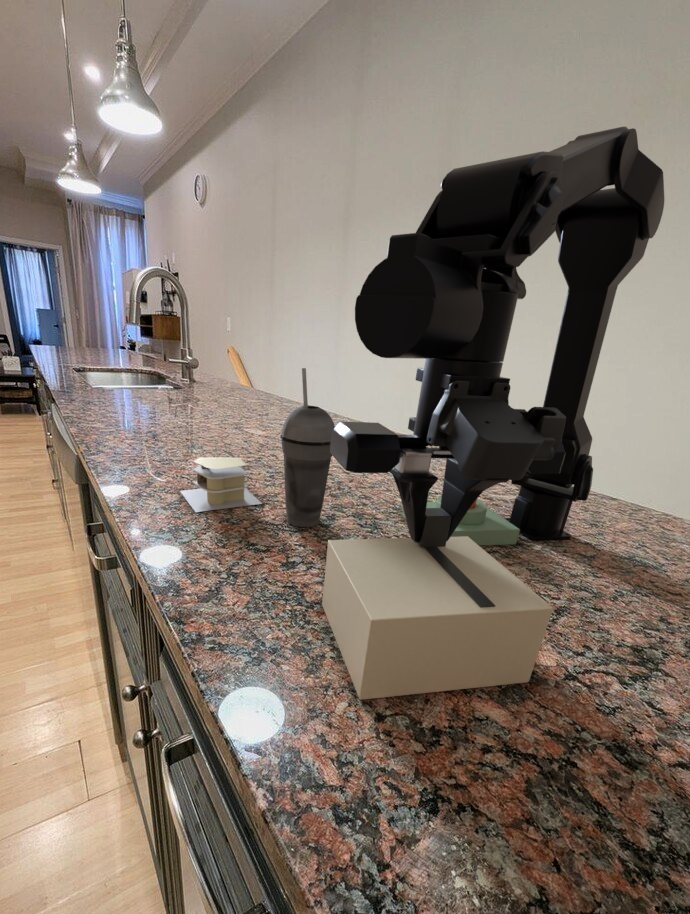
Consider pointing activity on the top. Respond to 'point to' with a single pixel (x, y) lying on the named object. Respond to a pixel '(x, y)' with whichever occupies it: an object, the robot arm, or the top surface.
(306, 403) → the beverage cup
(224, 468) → the stacked layers on plate
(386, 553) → the beige slider box
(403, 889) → the top surface
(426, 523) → the toaster slider
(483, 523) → the block
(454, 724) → the top surface
